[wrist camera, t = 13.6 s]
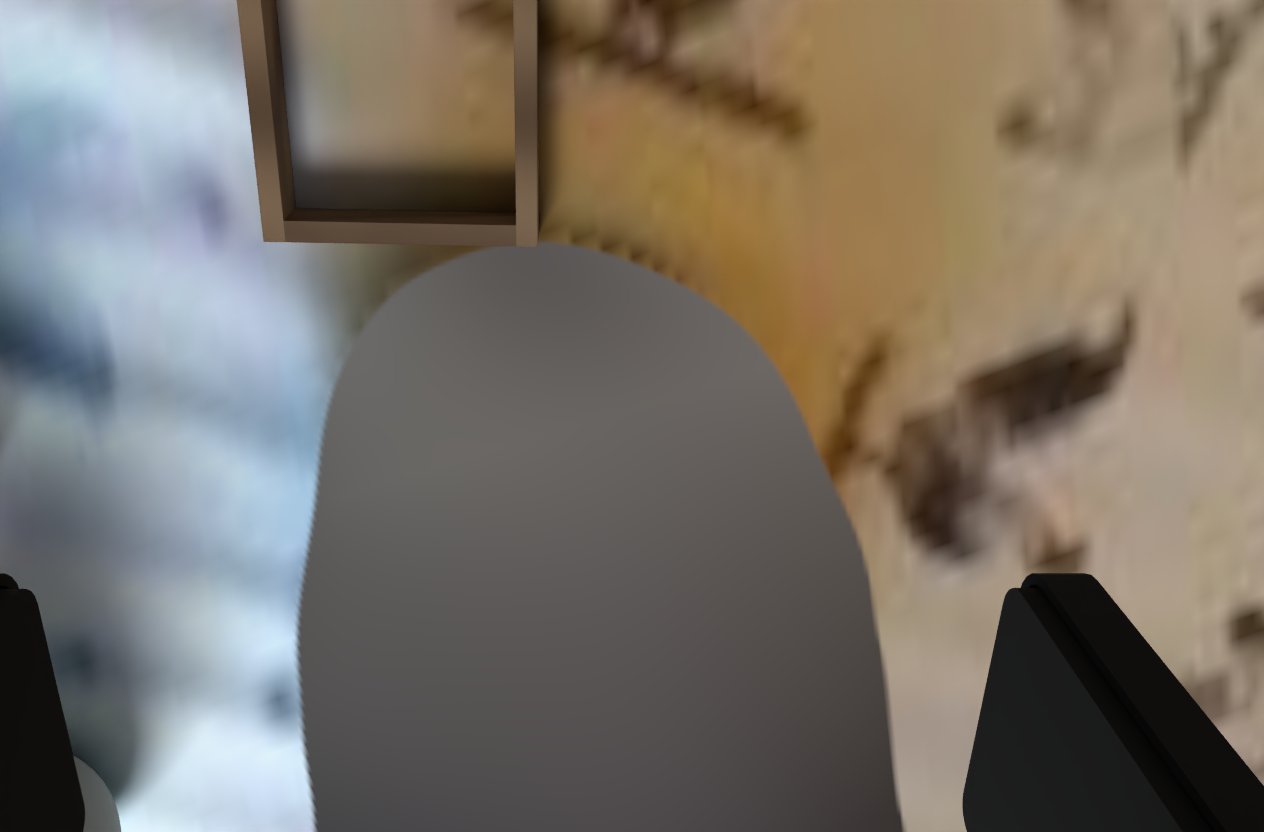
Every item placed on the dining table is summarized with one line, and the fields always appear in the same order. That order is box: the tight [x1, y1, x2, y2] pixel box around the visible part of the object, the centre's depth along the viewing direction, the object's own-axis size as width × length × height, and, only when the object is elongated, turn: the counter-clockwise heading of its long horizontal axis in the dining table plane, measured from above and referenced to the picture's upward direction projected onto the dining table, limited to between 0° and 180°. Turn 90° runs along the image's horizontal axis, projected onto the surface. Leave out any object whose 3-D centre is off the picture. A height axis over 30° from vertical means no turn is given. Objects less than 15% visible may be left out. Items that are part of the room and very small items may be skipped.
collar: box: [237, 0, 539, 247], centre depth 39 cm, size 10×10×2 cm
